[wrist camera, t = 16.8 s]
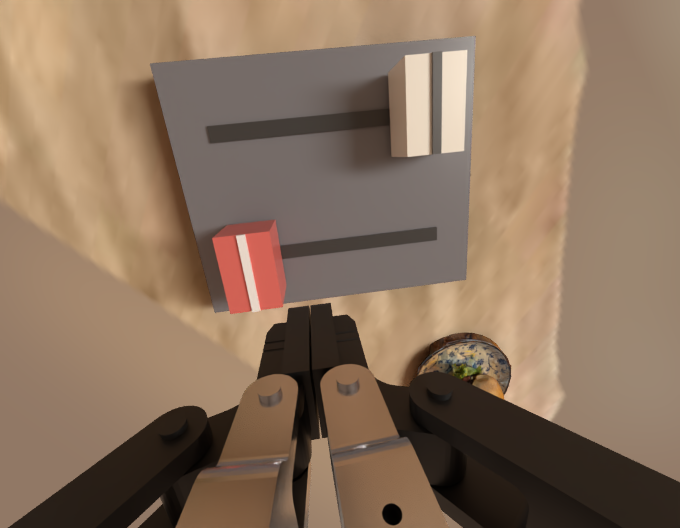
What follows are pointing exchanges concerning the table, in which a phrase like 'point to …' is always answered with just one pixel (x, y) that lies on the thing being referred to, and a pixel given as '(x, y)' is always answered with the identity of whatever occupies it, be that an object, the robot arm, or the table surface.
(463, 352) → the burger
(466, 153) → the console
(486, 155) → the table surface
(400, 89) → the block
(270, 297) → the block
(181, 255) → the table surface
